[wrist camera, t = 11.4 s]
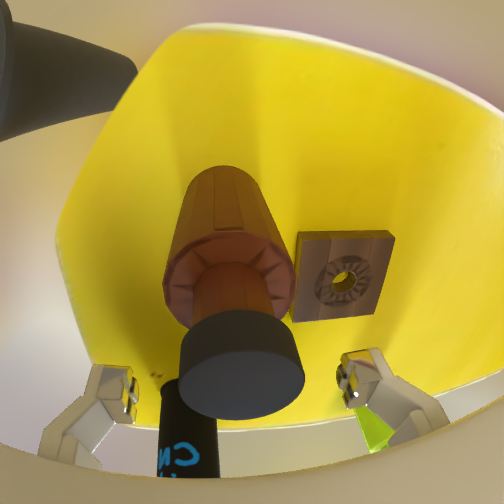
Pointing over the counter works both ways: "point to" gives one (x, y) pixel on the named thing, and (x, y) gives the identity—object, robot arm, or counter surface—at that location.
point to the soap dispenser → (373, 429)
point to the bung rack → (337, 261)
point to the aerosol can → (185, 439)
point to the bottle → (227, 251)
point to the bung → (239, 366)
